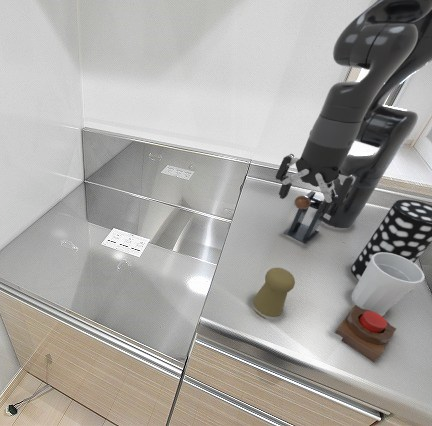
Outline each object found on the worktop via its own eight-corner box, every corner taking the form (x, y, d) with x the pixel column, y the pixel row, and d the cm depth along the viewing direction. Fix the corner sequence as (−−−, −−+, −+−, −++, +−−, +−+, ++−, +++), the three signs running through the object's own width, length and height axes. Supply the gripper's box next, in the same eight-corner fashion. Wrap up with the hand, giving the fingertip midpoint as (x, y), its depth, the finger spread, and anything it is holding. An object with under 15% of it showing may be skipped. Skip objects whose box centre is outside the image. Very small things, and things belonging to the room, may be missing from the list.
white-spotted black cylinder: (353, 286, 68) (402, 218, 56) (345, 262, 74) (388, 196, 62) (397, 297, 65) (458, 228, 53) (385, 270, 72) (437, 203, 60)
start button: (363, 313, 58) (367, 307, 57) (385, 325, 56) (390, 320, 55) (356, 323, 57) (360, 317, 56) (378, 336, 54) (383, 331, 53)
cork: (284, 322, 61) (304, 288, 54) (253, 317, 62) (269, 283, 55) (277, 298, 66) (294, 265, 59) (249, 294, 67) (262, 261, 60)
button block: (350, 310, 63) (359, 299, 60) (390, 334, 58) (401, 323, 56) (332, 334, 59) (341, 323, 56) (373, 362, 54) (385, 351, 52)
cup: (374, 326, 60) (408, 288, 53) (336, 297, 66) (362, 259, 59) (398, 312, 62) (434, 274, 55) (359, 285, 68) (387, 247, 61)
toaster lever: (303, 211, 66) (311, 198, 65) (289, 205, 68) (297, 192, 67) (319, 211, 77) (326, 200, 76) (307, 206, 79) (313, 195, 78)
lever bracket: (304, 247, 79) (323, 208, 71) (282, 235, 83) (298, 198, 75) (317, 234, 83) (337, 197, 75) (296, 224, 87) (313, 187, 79)
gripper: (379, 145, 56) (341, 213, 66) (303, 125, 65) (279, 187, 75) (364, 156, 52) (326, 226, 62) (286, 133, 62) (263, 197, 71)
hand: (300, 205), depth 68 cm, fingers open, 8 cm apart
